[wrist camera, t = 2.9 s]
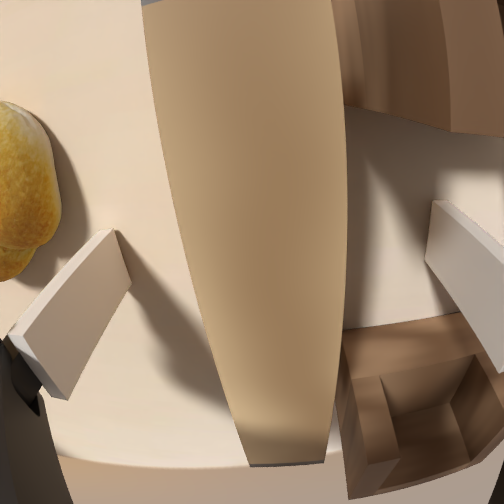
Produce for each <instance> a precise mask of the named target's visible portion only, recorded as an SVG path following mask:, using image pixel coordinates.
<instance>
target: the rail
mask: <svg viewBox="0 0 504 504" xmlns="http://www.w3.org/2000/svg"><path fill="white" fill-rule="evenodd" d="M141 6H142V16H143V25H144V33H145V42H146V50H147V57H148V65H149V72H150V79H151V85H152V92H153V98H154V104H155V110H156V116H157V122H158V128H159V133H160V139H161V144H162V150H163V155H164V160H165V165H166V170H167V175H168V180H169V185H170V189H171V194H172V199H173V203H174V208H175V213H176V217H177V221H178V226H179V230H180V234H181V239H182V243H183V247H184V251H185V255H186V259H187V263H188V267H189V271H190V275H191V279H192V283H193V287H194V290H195V294H196V298H197V302H198V305H199V309H200V313H201V316H202V320H203V323H204V327H205V330H206V334H207V337H208V341H209V344H210V348H211V351H212V354H213V358H214V361H215V364H216V368H217V371H218V374H219V377H220V380H221V384H222V387H223V390H224V393H225V396H226V399H227V402H228V405H229V408H230V411H231V414H232V417H233V420H234V423H235V426H236V429H237V432H238V435H239V438H240V440H241V443H242V446H243V449H244V452H245V454H246V457H247V460H248V462H249V465H250V467H277V466H278V467H279V466H296V465H309V464H319V463H324V460H325V455H326V450H327V444H328V438H329V432H330V426H331V420H332V413H333V406H334V399H335V392H336V384H337V376H338V367H339V358H340V348H341V338H342V326H343V313H344V299H345V281H346V257H347V160H346V136H345V119H344V105H343V93H342V82H341V72H340V62H339V54H338V45H337V38H336V30H335V24H334V17H333V11H332V4H331V0H141Z"/></svg>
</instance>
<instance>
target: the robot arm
mask: <svg viewBox="0 0 504 504" xmlns="http://www.w3.org/2000/svg"><path fill="white" fill-rule="evenodd" d="M425 261H426V263H427V264H428V265H429V267H430V268H431V269H432V271H433V272H434V274H435V275H436V276H437V278H438V279H439V280H440V282H441V283H442V285H443V286H444V287H445V289H446V290H447V292H448V293H449V294H450V296H451V297H452V299H453V300H454V302H455V303H456V305H457V306H458V308H459V309H460V311H461V312H462V314H463V315H464V317H465V318H466V320H467V321H468V323H469V324H470V326H471V328H472V329H473V331H474V332H475V334H476V336H477V337H478V339H479V341H480V342H481V344H482V346H483V347H484V349H485V351H486V352H487V354H488V356H489V357H490V359H491V361H492V363H493V364H494V366H495V368H496V370H497V372H498V373H501V372H504V247H503V246H502V245H501V244H500V243H499V242H498V241H497V240H496V239H494V238H493V237H492V236H491V235H490V234H489V233H488V232H486V231H485V230H484V229H483V228H482V227H481V226H479V225H478V224H477V223H476V222H475V221H473V220H472V219H471V218H470V217H468V216H467V215H466V214H465V213H463V212H462V211H461V210H460V209H458V208H457V207H456V206H455V205H453V204H452V203H451V202H449V201H448V200H432V208H431V217H430V225H429V233H428V240H427V247H426V254H425ZM131 284H132V283H131V280H130V277H129V274H128V271H127V268H126V265H125V263H124V260H123V257H122V254H121V251H120V247H119V244H118V241H117V238H116V235H115V232H114V228H112V229H104V230H99V231H98V232H97V233H96V234H95V235H94V236H93V237H92V238H91V239H90V240H89V241H88V242H87V243H86V244H85V245H84V246H83V247H82V248H81V249H80V250H79V251H78V252H77V253H76V254H75V255H74V256H73V257H72V258H71V259H70V260H69V261H68V262H67V264H66V265H65V266H64V267H63V268H62V269H61V270H60V271H59V272H58V273H57V274H56V276H55V277H54V278H53V279H52V280H51V281H50V282H49V283H48V284H47V286H46V287H45V288H44V289H43V290H42V291H41V293H40V294H39V295H38V296H37V297H36V298H35V300H34V301H33V302H32V303H31V304H30V306H29V307H28V308H27V309H26V310H25V312H24V313H23V314H22V315H21V317H20V318H19V319H18V320H17V322H16V323H15V324H14V325H13V327H12V328H11V329H10V331H9V332H8V333H7V335H6V337H5V338H4V339H3V341H2V340H1V339H0V504H73V501H72V499H71V496H70V493H69V491H68V488H67V485H66V482H65V479H64V476H63V473H62V470H61V467H60V464H59V460H58V457H57V454H56V450H55V447H54V443H53V439H52V435H51V431H50V427H49V423H48V418H47V414H46V409H45V404H44V400H43V397H42V395H41V394H40V393H39V390H40V388H41V386H42V385H43V387H44V388H45V389H46V391H47V392H48V393H49V394H50V396H51V397H54V398H59V399H63V400H69V397H70V395H71V393H72V391H73V389H74V387H75V385H76V383H77V381H78V379H79V377H80V375H81V373H82V371H83V370H84V368H85V366H86V364H87V362H88V360H89V358H90V356H91V354H92V352H93V351H94V349H95V347H96V345H97V343H98V341H99V339H100V338H101V336H102V334H103V332H104V330H105V329H106V327H107V325H108V323H109V322H110V320H111V318H112V316H113V315H114V313H115V311H116V309H117V308H118V306H119V304H120V302H121V301H122V299H123V297H124V296H125V294H126V292H127V291H128V289H129V287H130V286H131ZM488 504H504V462H503V465H502V468H501V471H500V474H499V477H498V480H497V482H496V485H495V488H494V490H493V493H492V496H491V498H490V500H489V503H488Z"/></svg>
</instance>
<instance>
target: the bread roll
mask: <svg viewBox="0 0 504 504" xmlns="http://www.w3.org/2000/svg"><path fill="white" fill-rule="evenodd" d="M61 213H62V203H61V198H60V192H59V187H58V182H57V176H56V171H55V166H54V159H53V152H52V147H51V142H50V140H49V137H48V135H47V134H46V132H45V130H44V129H43V127H42V126H41V124H40V123H39V122H38V121H37V120H36V119H35V118H34V117H33V116H32V115H31V114H30V113H29V112H28V111H26V110H25V109H23V108H22V107H19V106H17V105H15V104H12V103H10V102H5V101H0V282H2V281H6V280H9V279H11V278H13V277H15V276H16V275H18V274H19V273H21V272H22V271H23V270H24V269H25V267H26V266H27V265H28V263H29V262H30V260H31V258H32V257H33V255H34V253H35V251H36V249H37V248H38V247H39V246H41V245H44V244H45V243H47V242H48V241H49V240H50V239H51V238H52V237H53V235H54V233H55V231H56V229H57V227H58V225H59V222H60V219H61Z"/></svg>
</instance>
